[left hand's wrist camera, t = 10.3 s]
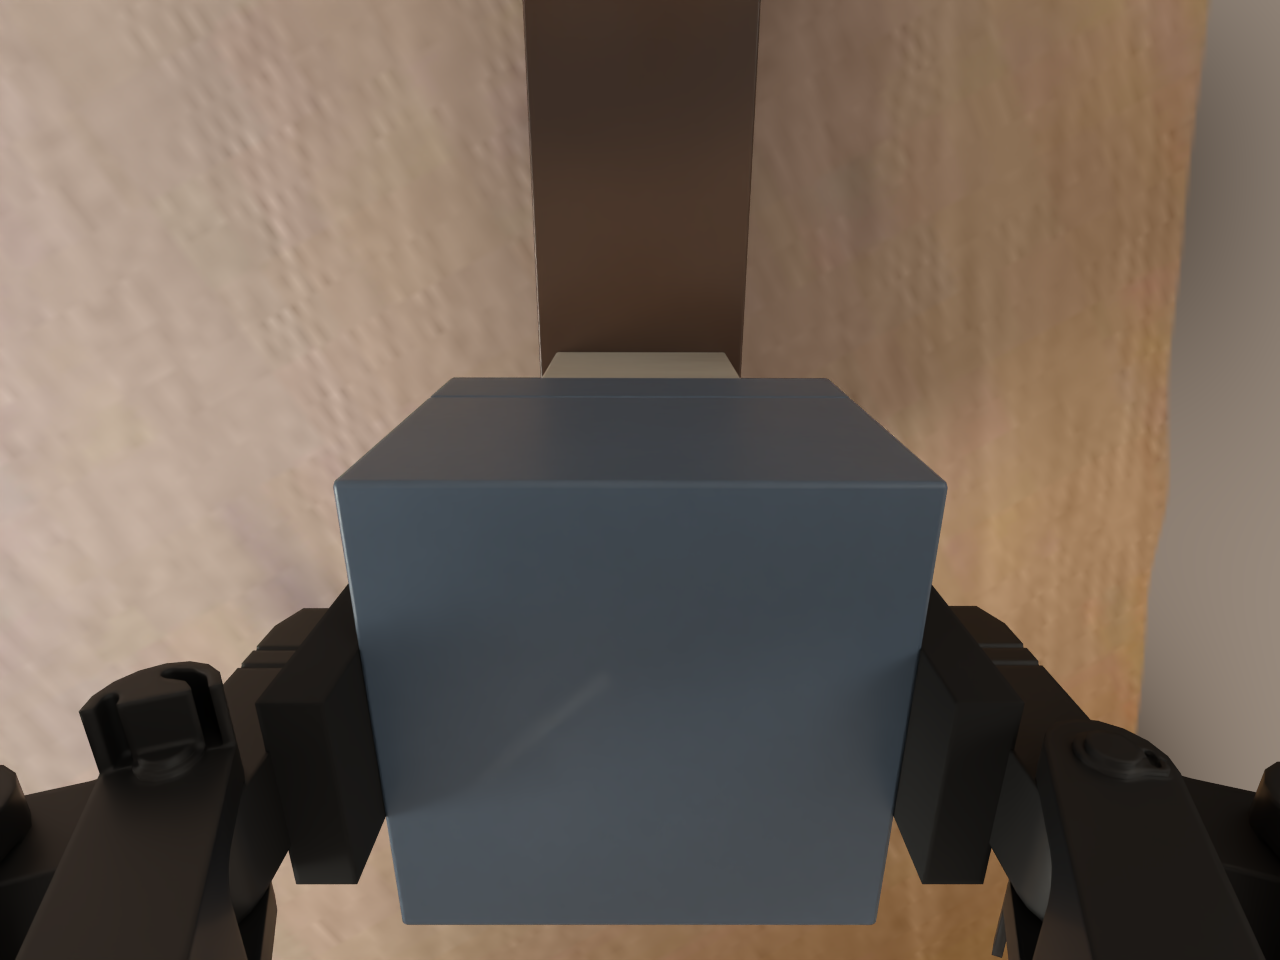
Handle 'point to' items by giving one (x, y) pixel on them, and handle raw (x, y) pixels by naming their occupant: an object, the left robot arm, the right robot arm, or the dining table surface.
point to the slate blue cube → (639, 648)
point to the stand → (641, 183)
